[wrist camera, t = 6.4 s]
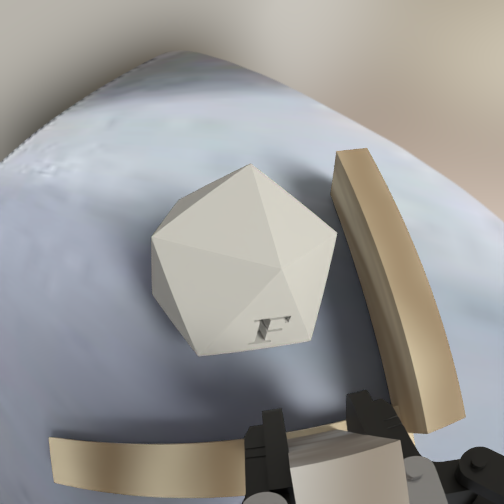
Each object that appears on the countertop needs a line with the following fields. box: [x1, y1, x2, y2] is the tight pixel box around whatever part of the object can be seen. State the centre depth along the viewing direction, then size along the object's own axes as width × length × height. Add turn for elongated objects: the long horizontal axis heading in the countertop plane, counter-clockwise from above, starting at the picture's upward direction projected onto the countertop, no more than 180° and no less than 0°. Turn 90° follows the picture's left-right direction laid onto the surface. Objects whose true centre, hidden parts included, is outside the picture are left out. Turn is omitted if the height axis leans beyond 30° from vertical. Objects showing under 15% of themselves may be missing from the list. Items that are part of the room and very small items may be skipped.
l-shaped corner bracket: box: [49, 148, 466, 504], centre depth 13 cm, size 22×17×10 cm
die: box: [151, 164, 337, 356], centre depth 15 cm, size 8×9×10 cm
